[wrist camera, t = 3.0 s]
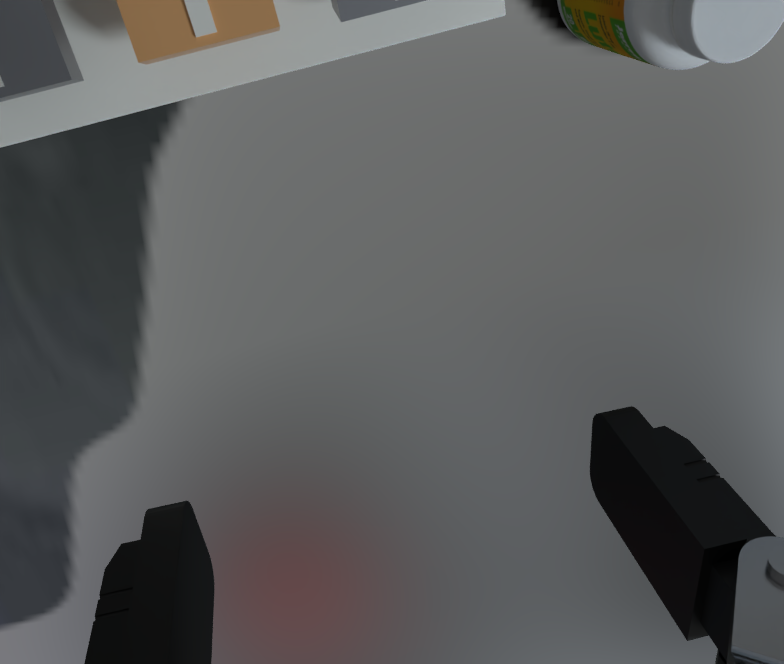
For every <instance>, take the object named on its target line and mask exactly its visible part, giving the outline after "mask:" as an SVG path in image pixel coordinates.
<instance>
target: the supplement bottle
mask: <svg viewBox="0 0 784 664" xmlns="http://www.w3.org/2000/svg"><path fill="white" fill-rule="evenodd" d="M557 3H558V8H559V12H560V15H561V18H562V20H563V22H564V23H565V25H566V27H567V28H568V29H569V31H570V32H571V33H572V34H573V35H575V36H576V37H577V38H578V39H580V40H582V41H584V42H586V43H589V44H591V45H593V46H596V47H599V48H602V49H605V50H608V51H611V52H614V53H617V54H620V55H623V56H626V57H630V58H633V59H636V60H639V61H642V62H645V63H648V64H651V65H654V66H657V67H661V68H666V69H671V70H685V69H691V68H695V67H698V66H701V65H703V64H705V63H707V62H709V61H712V62H717V63H733V62H737V61H741V60H743V59H746V58H748V57H749V56H751V55H753V54H755V53H756V52H757V51H759V50H760V49H761V48H763V47H764V46H765V45H766V44H767V43H768V42H769V41H770V40H771V39H772V37H773V36H774V35H775V34H776V32H777V31H778V29H779V28H780V26H781V25H782V23H783V21H784V0H557Z"/></svg>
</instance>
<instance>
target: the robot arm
mask: <svg viewBox="0 0 784 664" xmlns="http://www.w3.org/2000/svg"><path fill="white" fill-rule="evenodd" d="M590 477H591V482H592V487H593V490H594V492H595V495H596V497H597V499H598V501H599V503H600V505H601V506H602V508H603V509H604V511H605V513H606V514H607V516H608V517H609V519H610V520H611V522H612V523H613V525H614V527H615V528H616V530H617V531H618V533H619V534H620V536H621V538H622V539H623V541H624V542H625V544H626V545H627V547H628V549H629V550H630V552H631V553H632V555H633V556H634V558H635V560H636V561H637V563H638V564H639V566H640V567H641V569H642V570H643V572H644V574H645V575H646V577H647V578H648V580H649V582H650V583H651V584H652V586H653V588H654V589H655V591H656V593H657V594H658V596H659V597H660V599H661V600H662V602H663V603H664V605H665V607H666V608H667V610H668V611H669V613H670V614H671V616H672V618H673V619H674V621H675V622H676V624H677V625H678V627H679V629H680V630H681V632H682V633H683V635H684V636H685V638H686V640H687V641H688V640H693V639H696V638H700V637H704V636H708V635H709V636H710V638H711V639H712V641H713V642H714V644H715V645H716V647H717V648H718V650H717V655H716V661H715V664H784V538H782V537H776V536H775V535H774V534H773V533H772V532H771V531H770V530H769V529H768V527H767V526H766V525H765V524H764V523H763V522H762V521H761V520H760V518H759V517H758V516H757V515H756V514H755V513H754V512H753V511H752V510H751V508H750V507H749V506H748V505H747V504H746V503H745V502H744V501H743V500H742V499H741V497H740V496H739V495H738V494H737V493H736V492H735V491H734V490H733V488H732V487H731V486H730V485H729V484H728V483H727V482H726V481H725V480H724V478H720V476H719V473H718V472H717V471H716V469H715V468H714V467H713V466H712V465H711V464H710V463H707V462H706V458H705V457H704V456H703V455H702V454H701V453H700V452H699V451H698V450H697V448H696V447H695V446H694V445H693V444H692V443H691V442H690V441H689V440H688V439H686V438H685V437H683V436H681V435H680V434H678V433H676V432H674V431H672V430H671V429H669V428H668V427H666V426H662V427H658V428H653V427H652V426H651V425H650V424H649V423H648V422H647V420H646V419H645V418H644V417H643V415H642V414H641V413H640V412H639V411H638V410H637V409H636V408H635V407H626V408H622V409H617V410H612V411H608V412H603V413H598V414H596V415H595V416H594V418H593V424H592V441H591V459H590ZM213 608H214V575H213V568H212V563H211V558H210V555H209V552H208V549H207V547H206V544H205V541H204V538H203V536H202V533H201V530H200V527H199V525H198V522H197V519H196V516H195V514H194V511H193V508H192V506H191V504H190V502H188V501H184V502H179V503H174V504H170V505H165V506H160V507H156V508H152V509H148V510H147V511H146V514H145V517H144V523H143V529H142V534H141V540H137V541H133V542H128V543H123V544H121V546H120V547H119V549H118V550H117V552H116V553H115V555H114V556H113V558H112V559H111V561H110V562H109V564H108V565H107V567H106V569H105V572H104V576H103V581H102V586H101V590H100V600H98V604H97V608H96V613H95V619H96V620H95V621H94V622H93V627H92V632H91V636H90V641H89V645H88V650H87V654H86V659H85V664H211V657H212V633H213Z"/></svg>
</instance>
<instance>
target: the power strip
mask: <svg viewBox="0 0 784 664" xmlns="http://www.w3.org/2000/svg"><path fill="white" fill-rule="evenodd" d="M53 2H54V4H55V7H56V9H57V12H58V14H59V17H60V20H61V22H62V25H63V27H64V30H65V33H66V35H67V38H68V40H69V43H70V45H71V48H72V51H73V53H74V56H75V58H76V61H77V63H78V66H79V69H80V71H81V74H82V76H83V79H84V81H81V82H77V83H73V84H69V85H65V86H61V87H57V88H53V89H49V90H46V91H42V92H38V93H34V94H30V95H26V96H22V97H18V98H14V99H10V100H6V101H3V102H0V148H1V147H5V146H8V145H12V144H16V143H20V142H24V141H27V140H31V139H35V138H39V137H43V136H47V135H50V134H54V133H58V132H62V131H66V130H70V129H73V128H77V127H81V126H85V125H89V124H93V123H96V122H100V121H104V120H108V119H112V118H115V117H119V116H123V115H127V114H131V113H135V112H138V111H142V110H146V109H150V108H154V107H158V106H161V105H165V104H169V103H173V102H177V101H181V100H184V99H188V98H192V97H196V96H200V95H203V94H207V93H211V92H215V91H219V90H223V89H226V88H230V87H234V86H238V85H242V84H246V83H249V82H253V81H256V80H261V79H265V78H269V77H272V76H276V75H280V74H284V73H288V72H291V71H295V70H299V69H303V68H307V67H310V66H314V65H318V64H322V63H326V62H330V61H334V60H337V59H341V58H345V57H348V56H353V55H356V54H360V53H364V52H368V51H372V50H376V49H379V48H383V47H387V46H391V45H394V44H399V43H402V42H406V41H410V40H414V39H418V38H421V37H425V36H429V35H433V34H437V33H441V32H444V31H448V30H452V29H456V28H460V27H464V26H467V25H471V24H475V23H479V22H483V21H487V20H490V19H494V18H498V17H502V16H505V15H506V11H505V0H426V1H422V2H419V3H415V4H411V5H407V6H403V7H399V8H395V9H391V10H387V11H384V12H380V13H376V14H372V15H368V16H364V17H360V18H356V19H352V20H348V21H345V22H341V21H340V19H339V18H338V16H337V14H336V13H335V11H334V9H333V7H332V2H331V0H273V3H274V6H275V10H276V13H277V17H278V21H279V24H280V30H279V31H276V32H272V33H268V34H264V35H260V36H256V37H252V38H249V39H245V40H241V41H237V42H233V43H229V44H225V45H221V46H217V47H213V48H209V49H206V50H202V51H198V52H194V53H190V54H186V55H182V56H178V57H174V58H170V59H167V60H163V61H159V62H155V63H151V64H147V65H146V64H142V63H138V60H137V57H136V55H135V52H134V49H133V46H132V43H131V40H130V38H129V35H128V32H127V29H126V26H125V24H124V21H123V18H122V15H121V12H120V10H119V7H118V4H117V1H116V0H53Z"/></svg>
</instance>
